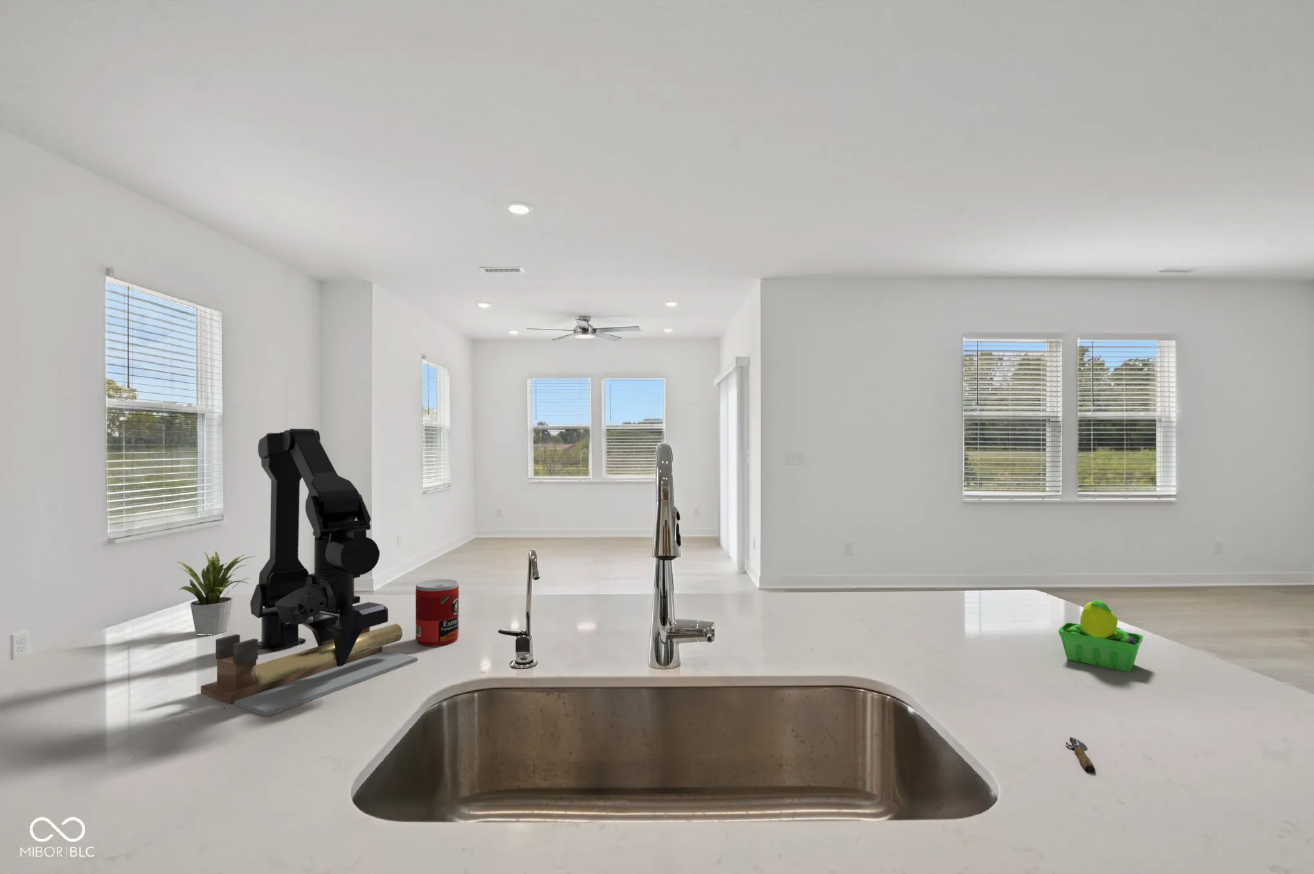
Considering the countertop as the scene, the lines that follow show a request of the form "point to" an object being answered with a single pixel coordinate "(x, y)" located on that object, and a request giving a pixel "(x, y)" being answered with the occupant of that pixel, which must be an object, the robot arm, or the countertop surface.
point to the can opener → (1082, 755)
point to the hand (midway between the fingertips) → (334, 664)
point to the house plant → (211, 596)
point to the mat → (323, 683)
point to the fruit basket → (1100, 639)
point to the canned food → (437, 612)
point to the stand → (238, 666)
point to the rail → (321, 655)
